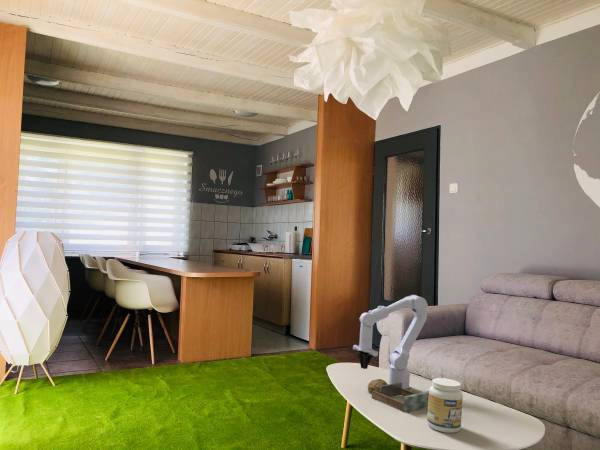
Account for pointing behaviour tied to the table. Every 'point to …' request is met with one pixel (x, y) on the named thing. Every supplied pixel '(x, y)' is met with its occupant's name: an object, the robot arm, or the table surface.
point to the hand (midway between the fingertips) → (364, 368)
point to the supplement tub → (445, 405)
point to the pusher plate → (391, 389)
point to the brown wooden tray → (405, 400)
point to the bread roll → (376, 385)
